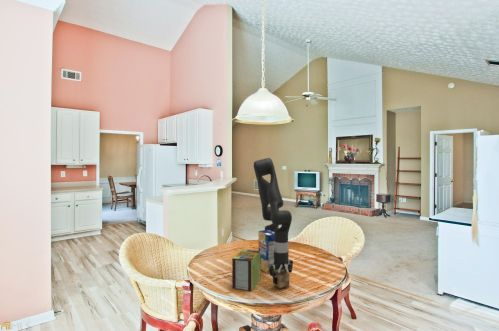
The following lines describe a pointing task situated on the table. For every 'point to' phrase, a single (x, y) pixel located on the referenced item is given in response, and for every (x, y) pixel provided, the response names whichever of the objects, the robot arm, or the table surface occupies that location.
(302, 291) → the table surface
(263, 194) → the robot arm
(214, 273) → the table surface
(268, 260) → the beverage box
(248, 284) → the protein box
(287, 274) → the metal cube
